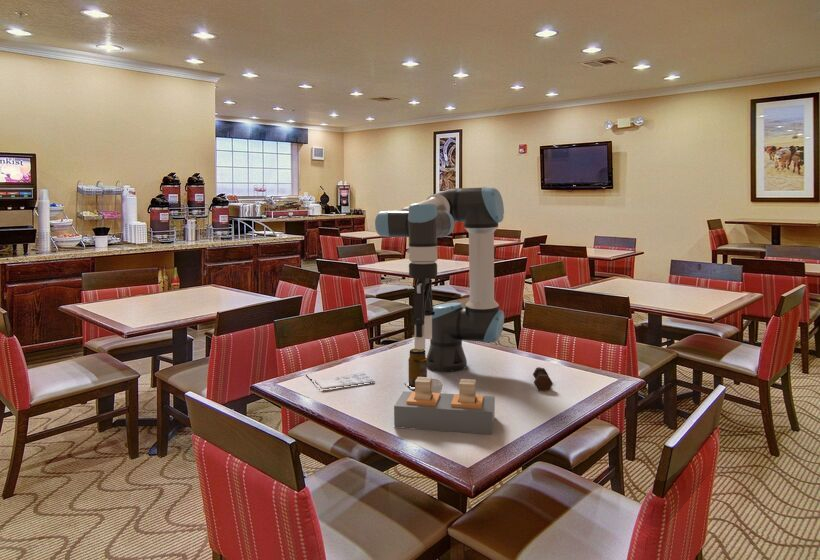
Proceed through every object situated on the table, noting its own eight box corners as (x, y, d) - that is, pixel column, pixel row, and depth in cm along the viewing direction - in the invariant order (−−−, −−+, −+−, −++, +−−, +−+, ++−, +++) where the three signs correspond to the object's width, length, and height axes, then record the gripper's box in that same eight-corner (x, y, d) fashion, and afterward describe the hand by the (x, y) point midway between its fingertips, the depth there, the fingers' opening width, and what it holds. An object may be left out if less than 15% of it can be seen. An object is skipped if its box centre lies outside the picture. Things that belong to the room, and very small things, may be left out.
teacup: (415, 391, 177) (415, 377, 177) (446, 391, 177) (446, 376, 177) (414, 402, 168) (414, 387, 167) (447, 402, 167) (447, 387, 167)
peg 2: (460, 402, 152) (460, 379, 151) (475, 403, 151) (475, 379, 150) (459, 407, 148) (459, 383, 147) (474, 408, 147) (474, 384, 146)
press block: (403, 411, 160) (403, 388, 159) (494, 417, 154) (494, 393, 154) (394, 427, 148) (394, 403, 147) (492, 434, 143) (492, 409, 142)
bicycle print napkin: (320, 393, 177) (319, 387, 177) (305, 376, 195) (304, 370, 195) (375, 385, 185) (375, 379, 184) (356, 369, 203) (356, 363, 203)
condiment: (423, 381, 187) (423, 346, 186) (433, 388, 179) (433, 352, 178) (403, 383, 185) (403, 348, 183) (412, 391, 177) (411, 354, 175)
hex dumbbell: (541, 382, 191) (545, 395, 176) (528, 374, 191) (531, 387, 176) (550, 368, 190) (555, 380, 175) (537, 360, 190) (541, 371, 175)
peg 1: (418, 399, 154) (417, 376, 153) (432, 400, 153) (432, 377, 152) (415, 404, 150) (415, 381, 149) (429, 405, 149) (429, 382, 149)
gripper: (417, 257, 158) (417, 333, 161) (399, 266, 136) (401, 354, 139) (443, 258, 157) (443, 334, 160) (430, 267, 135) (430, 355, 138)
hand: (423, 343), depth 149 cm, fingers open, 10 cm apart
